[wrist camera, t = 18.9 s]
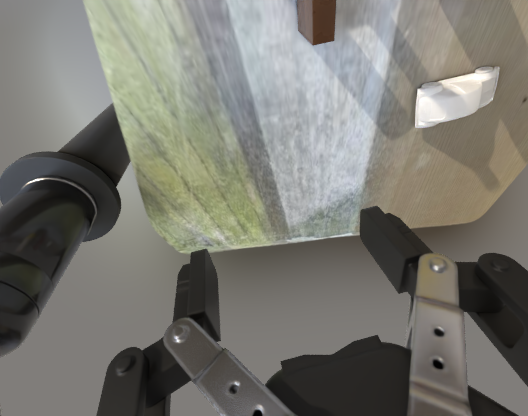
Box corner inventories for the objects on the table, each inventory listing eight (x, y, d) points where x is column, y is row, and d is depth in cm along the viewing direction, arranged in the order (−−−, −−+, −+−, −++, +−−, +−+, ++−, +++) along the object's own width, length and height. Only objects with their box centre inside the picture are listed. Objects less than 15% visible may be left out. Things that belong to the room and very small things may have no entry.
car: (409, 127, 43) (428, 138, 39) (411, 86, 39) (432, 94, 35) (484, 102, 42) (510, 111, 39) (493, 59, 39) (523, 63, 35)
